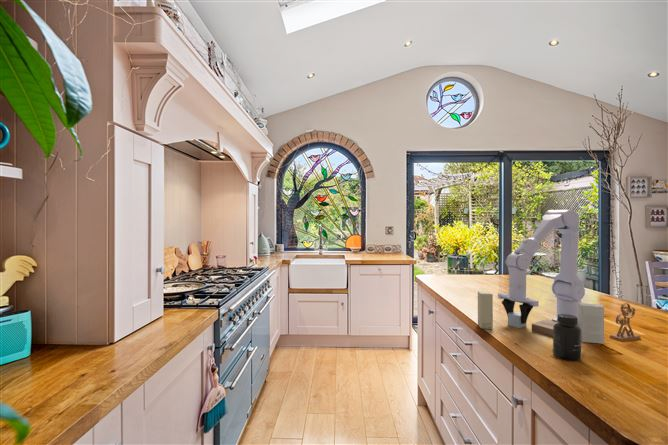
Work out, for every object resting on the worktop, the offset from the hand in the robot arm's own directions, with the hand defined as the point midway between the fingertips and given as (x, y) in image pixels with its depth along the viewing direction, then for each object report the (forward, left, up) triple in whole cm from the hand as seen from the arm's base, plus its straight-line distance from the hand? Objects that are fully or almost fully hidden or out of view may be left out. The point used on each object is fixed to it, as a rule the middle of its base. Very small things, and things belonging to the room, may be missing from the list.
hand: (517, 321), depth 126 cm
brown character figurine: (-19, +26, -2) cm, 32 cm away
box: (+12, -5, -2) cm, 13 cm away
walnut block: (-4, +11, -2) cm, 12 cm away
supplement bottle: (+15, +24, -2) cm, 28 cm away
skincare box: (-6, +21, -2) cm, 22 cm away
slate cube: (0, 0, -2) cm, 2 cm away
